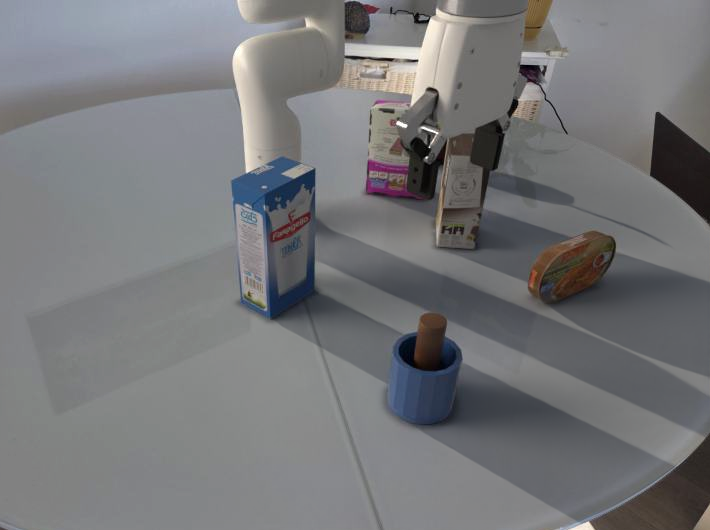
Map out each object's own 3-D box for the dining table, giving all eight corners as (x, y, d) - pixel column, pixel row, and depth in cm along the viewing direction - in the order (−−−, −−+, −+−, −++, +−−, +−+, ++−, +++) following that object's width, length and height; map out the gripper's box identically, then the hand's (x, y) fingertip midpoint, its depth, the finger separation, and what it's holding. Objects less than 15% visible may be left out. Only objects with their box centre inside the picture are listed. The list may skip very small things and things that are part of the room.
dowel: (403, 396, 78) (413, 319, 71) (419, 385, 80) (431, 308, 72) (422, 410, 77) (435, 332, 69) (438, 398, 78) (453, 321, 70)
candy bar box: (428, 189, 122) (439, 102, 112) (423, 200, 119) (434, 112, 108) (370, 182, 126) (376, 97, 115) (364, 193, 122) (369, 107, 112)
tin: (534, 311, 91) (548, 261, 86) (518, 300, 94) (530, 250, 88) (608, 279, 96) (626, 230, 91) (590, 270, 98) (607, 221, 93)
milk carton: (285, 275, 102) (282, 155, 89) (314, 290, 98) (316, 167, 86) (240, 303, 97) (230, 180, 84) (269, 319, 93) (263, 194, 80)
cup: (374, 399, 80) (378, 350, 74) (416, 371, 83) (423, 323, 78) (422, 434, 75) (430, 385, 70) (465, 404, 78) (476, 354, 73)
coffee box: (476, 249, 105) (494, 156, 94) (435, 247, 106) (449, 154, 96) (472, 222, 111) (490, 132, 101) (434, 220, 113) (448, 131, 102)
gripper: (509, -28, 60) (477, 145, 72) (379, 6, 53) (365, 194, 64) (582, -17, 56) (535, 167, 67) (450, 23, 48) (422, 222, 59)
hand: (452, 180), depth 65 cm, fingers open, 9 cm apart
